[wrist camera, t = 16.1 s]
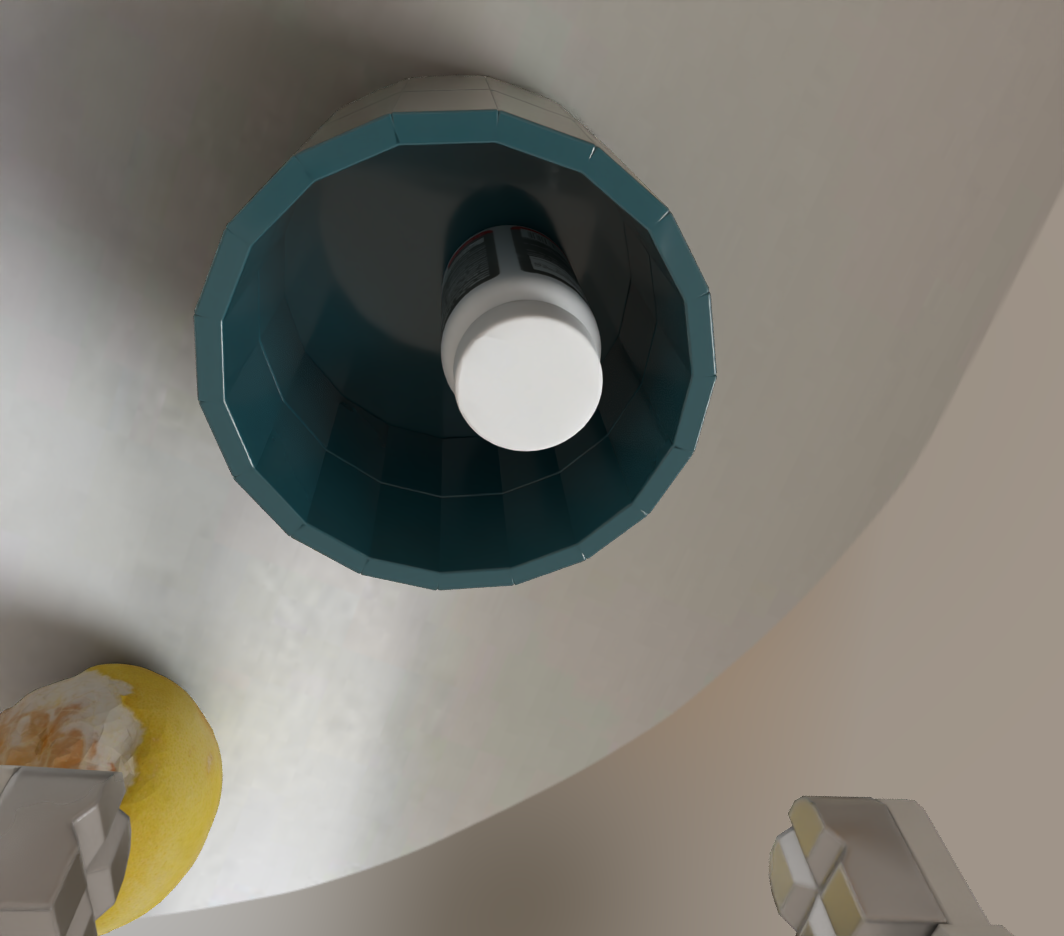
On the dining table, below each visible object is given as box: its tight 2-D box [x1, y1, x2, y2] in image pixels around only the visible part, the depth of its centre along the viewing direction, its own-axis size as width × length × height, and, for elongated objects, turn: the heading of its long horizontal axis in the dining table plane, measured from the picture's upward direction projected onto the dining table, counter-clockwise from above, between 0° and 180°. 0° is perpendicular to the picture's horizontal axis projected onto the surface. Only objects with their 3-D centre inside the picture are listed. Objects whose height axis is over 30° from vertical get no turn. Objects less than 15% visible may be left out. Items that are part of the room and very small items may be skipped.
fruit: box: [0, 664, 222, 936], centre depth 33 cm, size 10×11×10 cm
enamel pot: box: [193, 75, 717, 590], centre depth 25 cm, size 13×14×9 cm
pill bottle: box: [440, 225, 603, 451], centre depth 25 cm, size 5×5×8 cm
